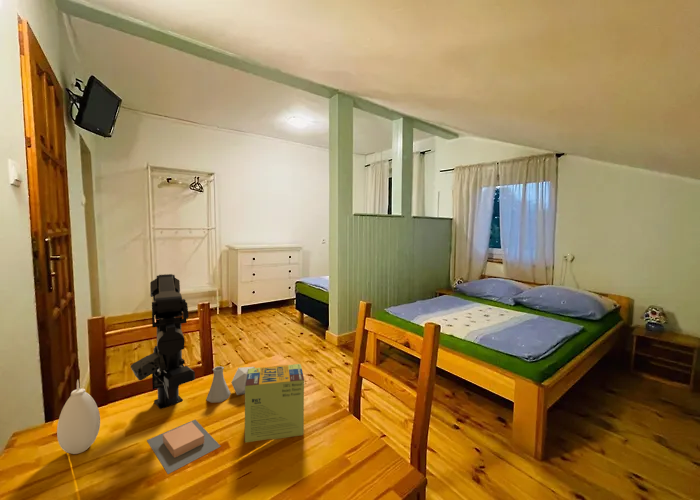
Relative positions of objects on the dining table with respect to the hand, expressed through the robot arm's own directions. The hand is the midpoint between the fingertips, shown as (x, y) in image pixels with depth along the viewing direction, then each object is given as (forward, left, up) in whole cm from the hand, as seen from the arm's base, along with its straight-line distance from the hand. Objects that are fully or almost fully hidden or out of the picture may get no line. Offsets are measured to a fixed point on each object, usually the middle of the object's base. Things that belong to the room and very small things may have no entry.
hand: (170, 398), depth 83 cm
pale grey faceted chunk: (-3, +24, -9) cm, 26 cm away
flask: (-6, +16, -9) cm, 20 cm away
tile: (+5, 0, -7) cm, 9 cm away
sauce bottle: (-7, -18, -9) cm, 21 cm away
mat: (+9, 0, -9) cm, 12 cm away
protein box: (+20, +20, -9) cm, 30 cm away
